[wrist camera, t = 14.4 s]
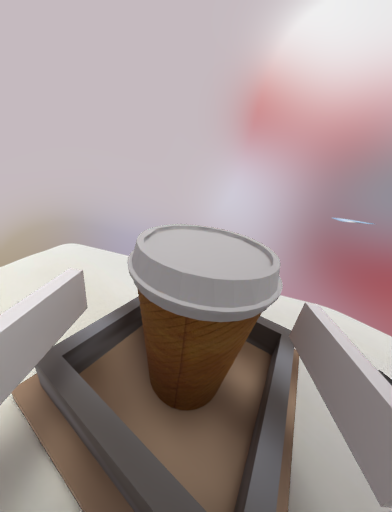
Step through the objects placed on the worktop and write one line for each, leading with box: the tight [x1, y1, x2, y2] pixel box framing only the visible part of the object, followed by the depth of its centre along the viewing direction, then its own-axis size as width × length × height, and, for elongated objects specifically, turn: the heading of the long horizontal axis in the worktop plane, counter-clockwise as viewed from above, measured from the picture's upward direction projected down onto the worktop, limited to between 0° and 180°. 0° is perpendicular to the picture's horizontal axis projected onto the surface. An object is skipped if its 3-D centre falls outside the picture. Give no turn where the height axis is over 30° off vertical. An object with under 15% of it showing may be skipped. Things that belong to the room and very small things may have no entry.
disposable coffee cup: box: [127, 224, 282, 411], centre depth 14 cm, size 10×10×12 cm
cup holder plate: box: [12, 297, 299, 512], centre depth 16 cm, size 18×18×4 cm
